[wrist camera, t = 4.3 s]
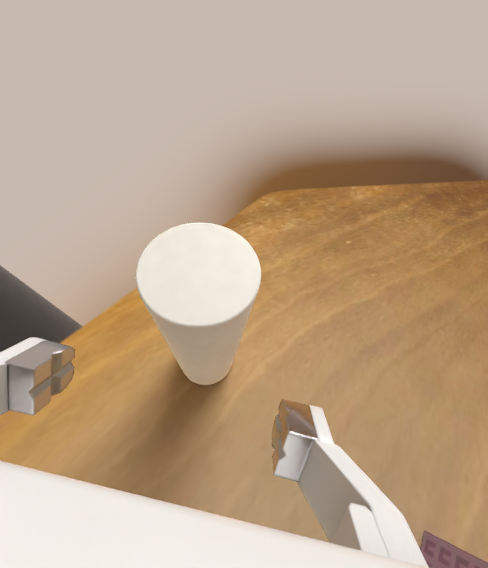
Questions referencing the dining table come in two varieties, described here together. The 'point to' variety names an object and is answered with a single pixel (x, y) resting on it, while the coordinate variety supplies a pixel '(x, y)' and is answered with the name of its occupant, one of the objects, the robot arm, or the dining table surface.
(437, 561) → the box
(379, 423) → the dining table surface
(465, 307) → the dining table surface
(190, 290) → the tube
